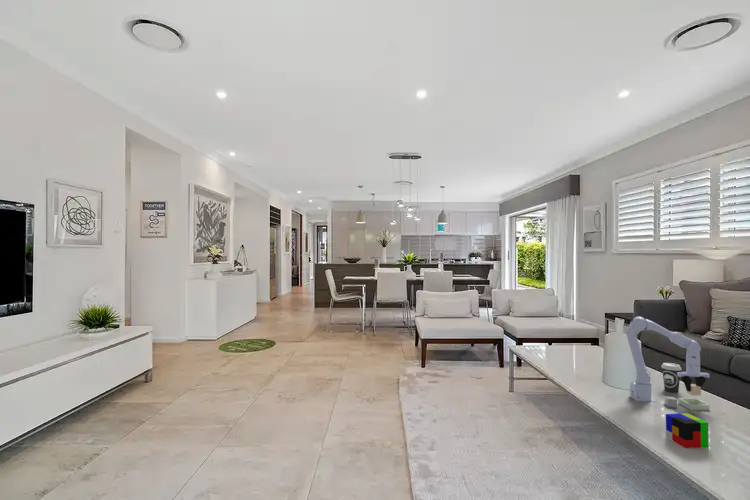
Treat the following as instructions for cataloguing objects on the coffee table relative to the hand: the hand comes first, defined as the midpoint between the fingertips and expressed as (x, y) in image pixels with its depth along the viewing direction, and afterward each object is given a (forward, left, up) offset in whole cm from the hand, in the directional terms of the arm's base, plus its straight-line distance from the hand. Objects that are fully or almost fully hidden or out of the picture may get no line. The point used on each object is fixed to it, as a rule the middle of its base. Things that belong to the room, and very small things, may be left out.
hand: (693, 391), depth 211 cm
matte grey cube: (-11, 0, -8) cm, 13 cm away
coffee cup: (+5, +26, -8) cm, 28 cm away
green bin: (0, 0, -8) cm, 8 cm away
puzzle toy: (-30, -42, -9) cm, 52 cm away
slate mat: (-10, -5, -8) cm, 14 cm away
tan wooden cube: (0, 0, -2) cm, 2 cm away
